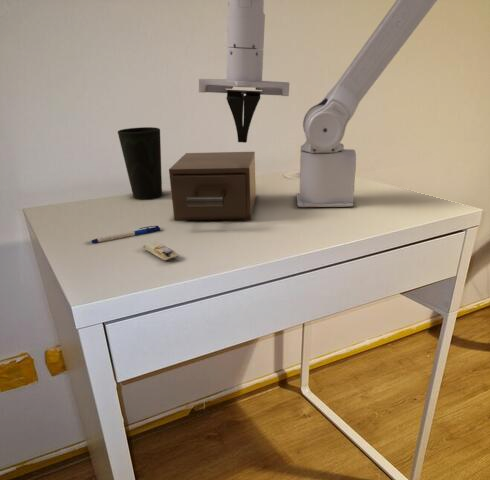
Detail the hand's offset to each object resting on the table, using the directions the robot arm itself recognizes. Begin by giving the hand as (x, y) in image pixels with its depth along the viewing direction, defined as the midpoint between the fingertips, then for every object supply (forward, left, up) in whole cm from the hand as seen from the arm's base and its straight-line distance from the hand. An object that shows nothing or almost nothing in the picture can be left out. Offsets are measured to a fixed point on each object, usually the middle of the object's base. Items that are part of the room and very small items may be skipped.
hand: (242, 141), depth 79 cm
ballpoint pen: (+16, +18, -11) cm, 27 cm away
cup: (+19, -6, -11) cm, 23 cm away
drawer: (+4, +7, -10) cm, 13 cm away
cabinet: (+4, +3, -10) cm, 12 cm away
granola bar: (+9, +26, -11) cm, 30 cm away
